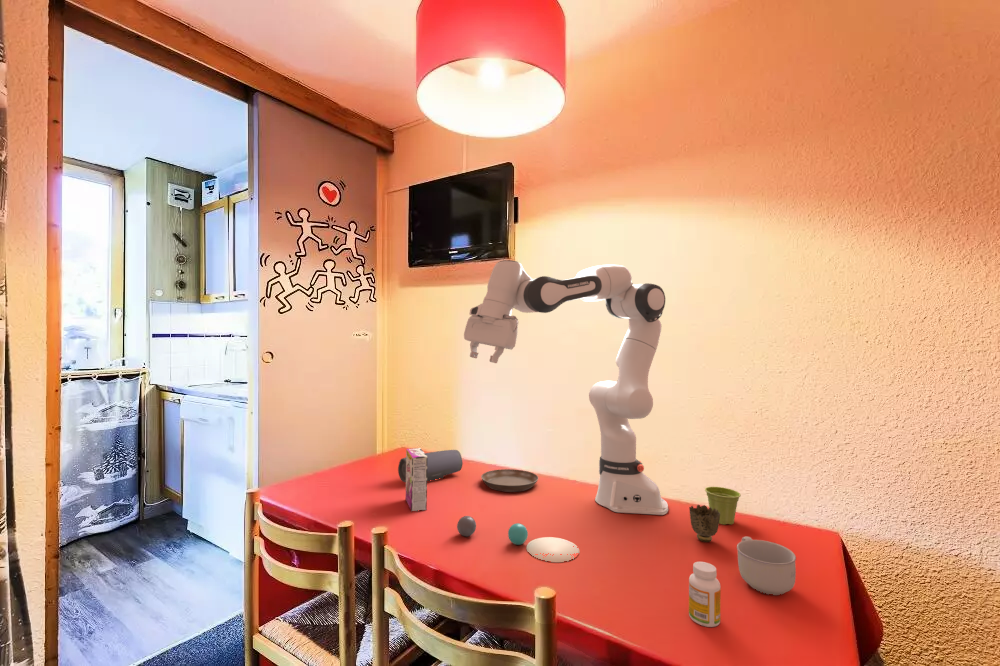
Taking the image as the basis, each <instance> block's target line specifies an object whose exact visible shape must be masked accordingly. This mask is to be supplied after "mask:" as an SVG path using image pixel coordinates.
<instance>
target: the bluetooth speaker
mask: <svg viewBox="0 0 1000 666" xmlns="http://www.w3.org/2000/svg"><path fill="white" fill-rule="evenodd" d="M424 453H425V454H426V456H427V457H428V458H427V481H429V482H431V481H430V480H434V481H436V480H435V479H439V478H442V479H444V478H445V476H448V475H451V474H455V473H458V472H460V471H461V470H462V468H463V465H464V463H463V458H462V454H461V452H460V451H459V450H458V449H447V450H439V451H430V452H424ZM397 473H398V477H399V479H400V480H401V481H402V482H403V483H406V456H405V457H403V458H401V459H399V462H398V467H397ZM443 477H444V478H443ZM439 480H440V479H439Z"/></svg>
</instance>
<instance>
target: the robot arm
mask: <svg viewBox="0 0 1000 666" xmlns="http://www.w3.org/2000/svg"><path fill="white" fill-rule="evenodd" d="M632 277H633V276H632V274H631V272H630V270H629V269H628V268H627V267H626V266H624V265H620V264H602V265H601V264H600V265H595V266H591V267H588V268H585V269H582V270H580V271H578V272H577V274H576V276H575V277H572V278H566V279H557V278H555V277H551V276H548V275H547V276H546V275H543V276H538V277H536V278H532V277H531V276H530V275H528V273H527V272H526V271H525V269H524V267H523V265H522V263H521V262H519V261H516V260H510V259H506V260H505V259H503V260H500V261H498V262H496V263H495V264H494V267H493V269H492V270H491V274H490V277H489V279H488V283H487V291H486V295H485V296H484V298H483V301H482V303H480V304H478V305H476V306H474V307H472V308H470V310H469V317H468V319H467V321H466V325H465V327H464V333H463V338H464V340H465V341H468V342H470V344H469V346H470V348H469V349H470V354H469V357H470V358H473V359H477V358H478V357H479V356H478V355H479V352H478V348H479V346H480V344H481V345H485V346H486V345H487V346H492V347H494V350H495V351H494V353H493V354H492V355H490V358H489V362H490V363H494V364H498V362H499V358H500V357H501V356H502V354H503V353H504V350H505V349H506V350H507V349H508V350H511V351H512V350H513V349H514V348H515V347H516V344H517V339H518V331H519V328H518V327H519V319H518V317H517V316H516V315H512V313H513V309H515V310H517V311H519V312H521V313H526V314H528V313H529V314H530V313H541V314H547V313H550V312H552V311H554V310H556V309H557V308H559V307H560V306H561V305H563V304H564V303H566V302H571V301H574V300H575V301H576V300H579V299H580V300H581V301H583V302H599V301H605V302H604V303H605V307H606V310H607V312H608V313H609V314H610V315H611V316H612V317H615V318H616V319H617V318H618V319H628V329H627V331H626V333H625V335H624V337H623V340H622V343H621V345H620V348H619V350H618V353H617V356H616V358H615V363H616V366H617V367H618V378H617V381H614V380H603V381H599V382H598V381H597V382H596V383H594V384H593V385H592V386H591V387H590V390H589V393H588V400H589V402H590V404H591V406H592V407H593V408H594V411H595V414H596V417H597V421H598V425H599V431H600V456H599V460H598V474H599V481H598V482H599V483H598V488H597V493H596V494H595V499H594V500H595V502H596V503H597V504H599V505H600V506H603V507H604V508H607V509H609V510H610V511H612V512H615V513H622V514H623V513H624V514H639V515H640V514H641V515H654V516H655V515H657V516H663V515H666V514H668V512H669V505H668V502H667V501H666V500H665V499H664V498H662V495H661V491H660V488H659V486H658V484H657V483H656V482H655V481H653V480H652V479H651V478H650V477H649V476H648V475H646V474H645V473H644V470H645V466H644V465H643V463H642V461H641V460H638V459H637V436H636V433H635V431H633V429H632V427H631V425H630V423H629V420H642V419H644V418H647V417H648V416H649V415H650V414H651V412H652V410H653V408H654V407H653V406H654V398H653V396H652V394H651V392H650V390H649V372H650V369H651V366H652V363H653V361H654V357H655V354H656V352H657V349H658V346H659V343H660V338H661V335H662V323H661V320H660V319H661V317H662V315H663V312H664V309H665V306H666V294H665V291H664V290H663V288H662V287H661V286H660V285H657V284H654V283H638V284H636V283H635V284H634V282H632V281H633V278H632Z"/></svg>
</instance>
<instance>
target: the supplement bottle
mask: <svg viewBox="0 0 1000 666" xmlns="http://www.w3.org/2000/svg"><path fill="white" fill-rule="evenodd" d="M692 572H693V573H691V574H690V575H689V578H688V616H689V618H690V619H691V620H692V621H693V622H694V623H696V624H698V625H701V626H702V627H706V628H715V627H717V626H719V625H720V624H721V591H722V590H721V588H722V587H721V583H720V581H719V579H718V578H717V567H716V566H715V565H714V564H711V563H710V562H705V561H696V562H694V563H693V565H692Z"/></svg>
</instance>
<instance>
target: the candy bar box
mask: <svg viewBox="0 0 1000 666" xmlns="http://www.w3.org/2000/svg"><path fill="white" fill-rule="evenodd" d="M425 453H426V452H424V450H422V448H421V447H417V448H416V447H415V448H406V449H405V457H406V482H405V501H406V503H407V505H408V508H409V509H410V511H411V512H412V511H416V512H419V511H418V510H422V511H427V510H428V509H427V508H428V506H427V505H428V503H427V501H428V497H427V496H428V482H427V458H428V457H427V456H426V454H425Z"/></svg>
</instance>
